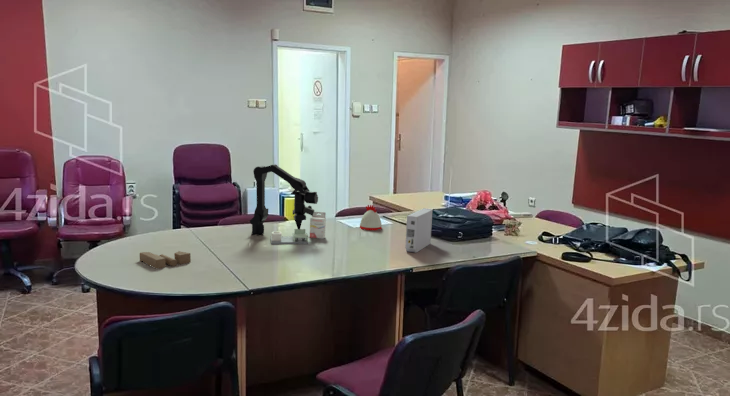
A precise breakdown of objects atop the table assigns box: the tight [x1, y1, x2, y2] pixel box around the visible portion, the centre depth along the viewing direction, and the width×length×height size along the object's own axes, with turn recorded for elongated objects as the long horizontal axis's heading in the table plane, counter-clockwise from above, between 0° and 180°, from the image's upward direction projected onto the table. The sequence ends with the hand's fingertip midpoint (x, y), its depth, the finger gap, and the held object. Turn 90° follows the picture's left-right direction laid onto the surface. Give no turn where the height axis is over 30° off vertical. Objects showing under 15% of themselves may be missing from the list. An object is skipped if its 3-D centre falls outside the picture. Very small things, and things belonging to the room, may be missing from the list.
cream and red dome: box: [359, 204, 383, 231], centre depth 346 cm, size 14×14×15 cm
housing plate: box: [270, 235, 309, 245], centre depth 305 cm, size 20×14×4 cm
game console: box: [404, 207, 433, 254], centre depth 300 cm, size 6×27×20 cm, turn 155°
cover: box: [292, 228, 309, 243], centre depth 303 cm, size 8×7×6 cm
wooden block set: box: [139, 250, 192, 269], centre depth 255 cm, size 17×6×18 cm
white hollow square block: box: [271, 231, 282, 241], centre depth 302 cm, size 5×5×4 cm
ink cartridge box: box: [309, 211, 327, 239], centre depth 315 cm, size 9×5×15 cm, turn 84°
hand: (298, 229), depth 313 cm, fingers closed
